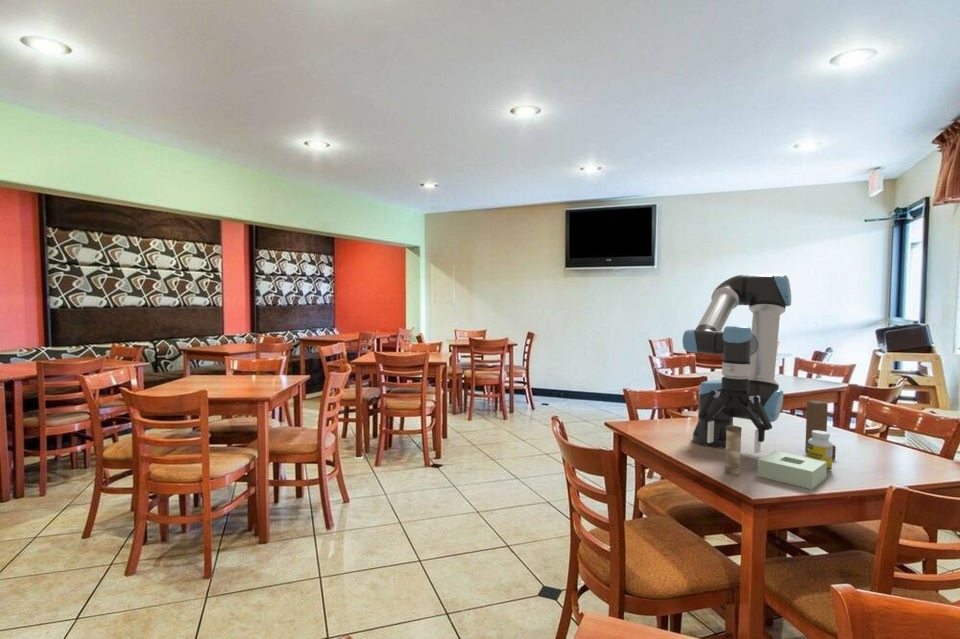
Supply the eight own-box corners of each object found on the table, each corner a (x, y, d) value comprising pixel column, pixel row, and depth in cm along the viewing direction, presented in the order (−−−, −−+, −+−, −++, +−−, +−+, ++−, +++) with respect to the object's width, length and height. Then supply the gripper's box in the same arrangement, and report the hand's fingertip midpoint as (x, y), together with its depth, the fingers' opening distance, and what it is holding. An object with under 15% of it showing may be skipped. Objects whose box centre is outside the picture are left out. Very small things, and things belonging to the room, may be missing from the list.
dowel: (722, 472, 151) (724, 426, 150) (728, 469, 154) (729, 424, 153) (736, 476, 148) (738, 429, 147) (742, 473, 150) (743, 427, 150)
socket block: (757, 475, 148) (758, 459, 148) (773, 466, 158) (774, 450, 157) (812, 489, 138) (812, 471, 138) (826, 478, 147) (826, 461, 147)
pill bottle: (802, 465, 159) (803, 429, 159) (822, 465, 159) (824, 429, 159) (815, 471, 153) (816, 434, 153) (836, 472, 153) (838, 435, 152)
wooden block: (835, 459, 166) (837, 406, 165) (822, 459, 166) (824, 405, 165) (817, 451, 175) (819, 400, 174) (804, 451, 175) (806, 400, 174)
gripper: (689, 373, 157) (687, 440, 157) (777, 383, 138) (774, 459, 138) (700, 371, 162) (697, 436, 162) (786, 381, 143) (783, 454, 143)
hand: (732, 447), depth 150 cm, fingers open, 13 cm apart
